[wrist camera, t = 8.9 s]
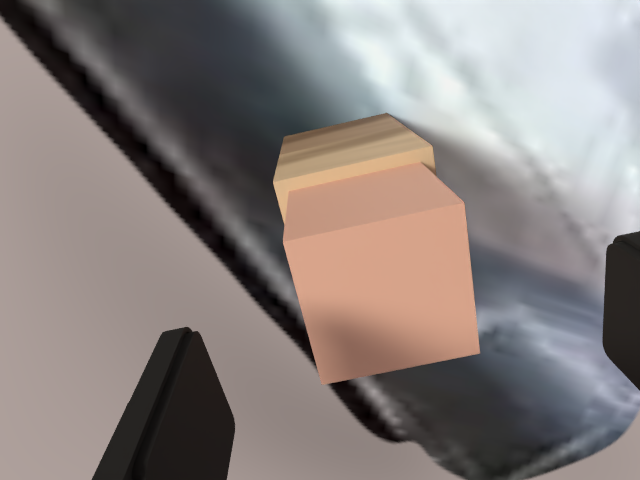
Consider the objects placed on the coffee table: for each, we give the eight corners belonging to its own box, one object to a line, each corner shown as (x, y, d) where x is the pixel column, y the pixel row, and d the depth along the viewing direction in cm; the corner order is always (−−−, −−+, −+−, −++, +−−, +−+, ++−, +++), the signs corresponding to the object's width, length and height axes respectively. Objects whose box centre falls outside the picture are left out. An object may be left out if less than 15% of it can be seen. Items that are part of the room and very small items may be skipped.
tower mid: (279, 154, 22) (273, 182, 17) (404, 125, 21) (432, 145, 17) (308, 266, 24) (309, 317, 19) (421, 241, 23) (450, 287, 19)
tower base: (284, 136, 26) (279, 154, 22) (386, 112, 26) (404, 125, 21) (307, 231, 28) (308, 265, 24) (402, 210, 28) (421, 241, 23)
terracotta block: (288, 190, 17) (283, 241, 12) (420, 161, 17) (464, 202, 12) (317, 303, 19) (321, 384, 14) (436, 279, 19) (479, 353, 14)
